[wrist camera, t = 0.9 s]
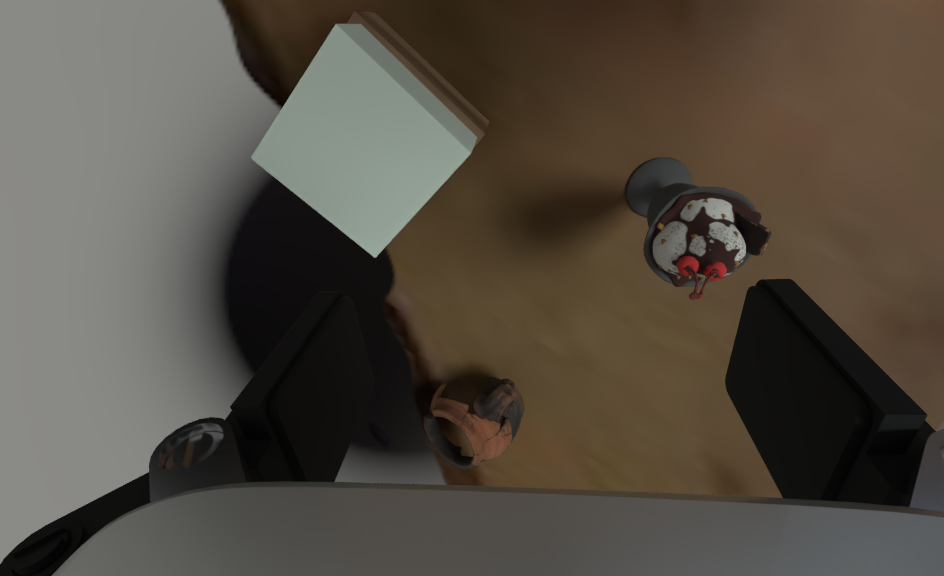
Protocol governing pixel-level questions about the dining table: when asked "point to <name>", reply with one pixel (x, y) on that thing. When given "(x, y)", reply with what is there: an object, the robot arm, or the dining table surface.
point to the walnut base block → (423, 72)
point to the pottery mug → (477, 422)
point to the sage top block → (363, 139)
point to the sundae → (693, 225)
